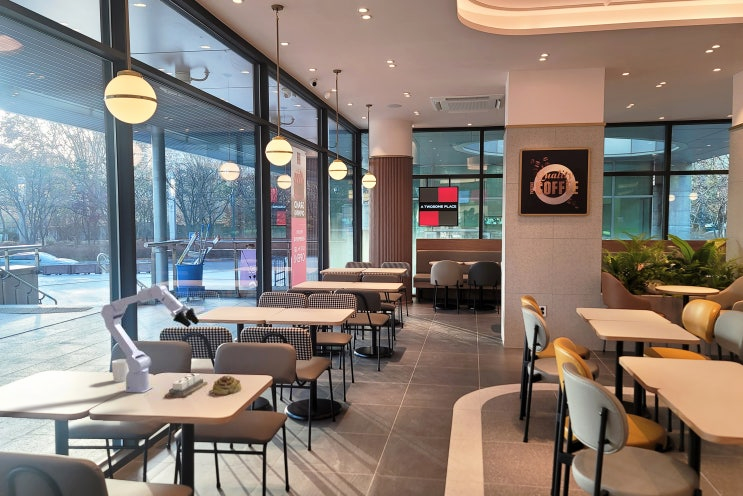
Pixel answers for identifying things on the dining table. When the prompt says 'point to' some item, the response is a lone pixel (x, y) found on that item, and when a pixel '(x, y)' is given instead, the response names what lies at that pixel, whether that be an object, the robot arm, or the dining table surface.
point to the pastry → (226, 386)
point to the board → (186, 390)
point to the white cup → (120, 370)
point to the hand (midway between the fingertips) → (193, 324)
